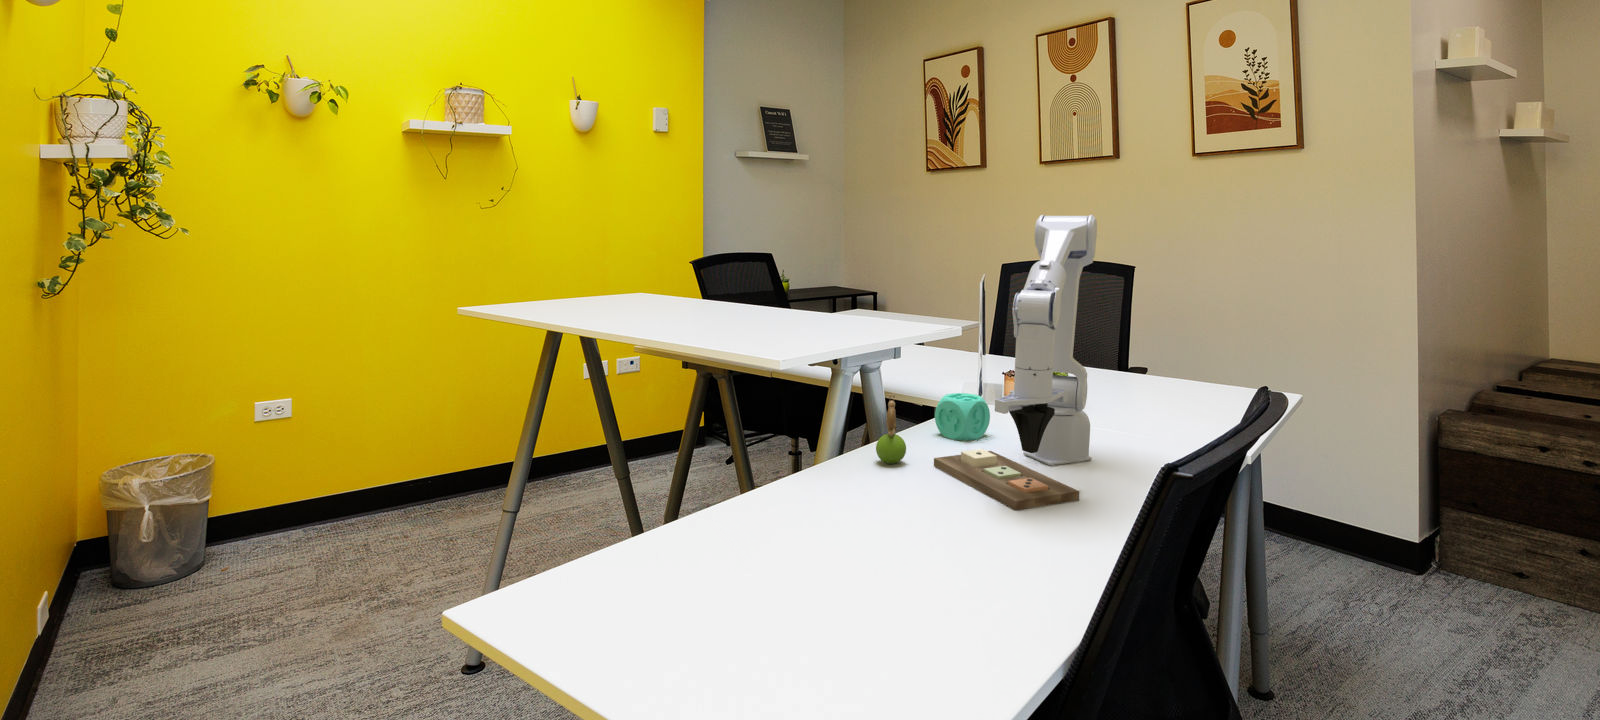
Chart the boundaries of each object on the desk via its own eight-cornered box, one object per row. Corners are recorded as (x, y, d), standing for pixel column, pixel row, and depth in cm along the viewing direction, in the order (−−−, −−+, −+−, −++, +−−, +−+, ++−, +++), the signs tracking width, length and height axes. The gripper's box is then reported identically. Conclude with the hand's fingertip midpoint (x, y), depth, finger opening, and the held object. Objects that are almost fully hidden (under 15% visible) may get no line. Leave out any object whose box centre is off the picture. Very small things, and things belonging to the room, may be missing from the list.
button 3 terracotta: (1030, 489, 135) (1030, 476, 134) (1047, 497, 131) (1048, 485, 130) (1007, 492, 133) (1008, 480, 133) (1024, 501, 129) (1025, 488, 129)
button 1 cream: (981, 459, 147) (982, 448, 147) (996, 466, 143) (996, 455, 143) (960, 462, 146) (961, 451, 145) (974, 469, 142) (975, 457, 141)
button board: (990, 458, 151) (990, 450, 151) (1078, 500, 129) (1079, 491, 129) (933, 466, 147) (933, 457, 147) (1015, 510, 125) (1015, 500, 125)
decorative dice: (958, 428, 173) (959, 391, 172) (989, 436, 167) (991, 397, 166) (933, 435, 168) (934, 396, 167) (965, 443, 162) (966, 403, 161)
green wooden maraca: (905, 457, 152) (906, 394, 150) (906, 467, 146) (907, 402, 144) (875, 456, 153) (876, 393, 151) (875, 467, 147) (876, 401, 145)
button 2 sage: (1004, 476, 141) (1005, 464, 141) (1020, 484, 137) (1021, 472, 137) (983, 479, 140) (983, 467, 139) (998, 487, 136) (998, 475, 135)
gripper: (1045, 358, 135) (1041, 438, 138) (981, 367, 128) (978, 452, 130) (1080, 365, 130) (1075, 448, 132) (1016, 375, 122) (1012, 463, 124)
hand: (1029, 451), depth 131 cm, fingers closed
